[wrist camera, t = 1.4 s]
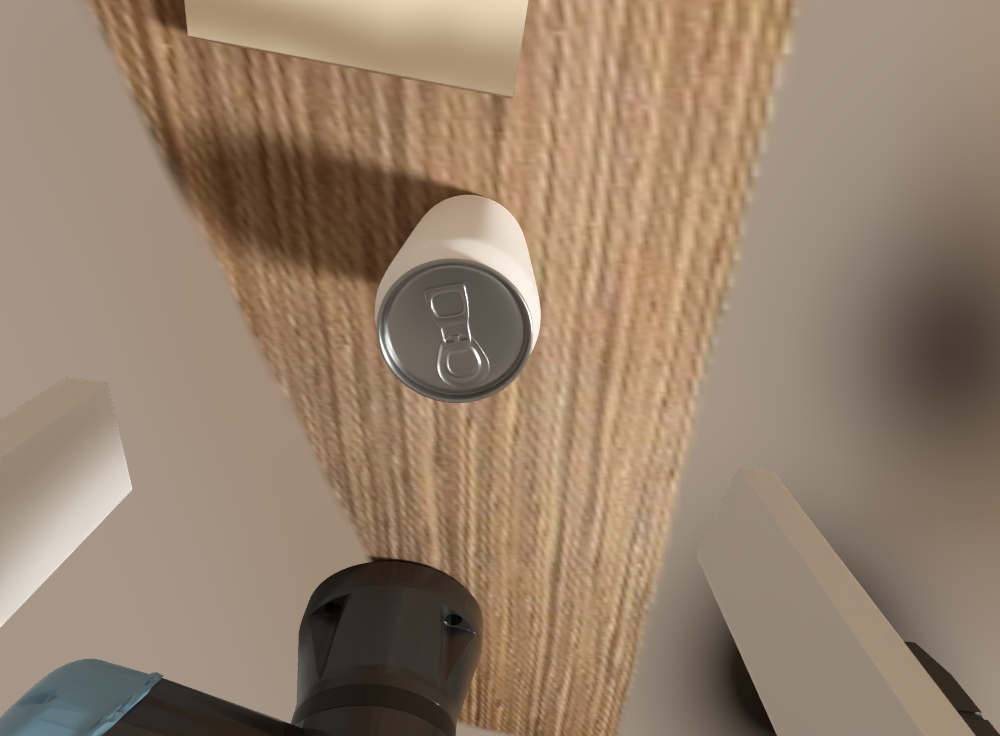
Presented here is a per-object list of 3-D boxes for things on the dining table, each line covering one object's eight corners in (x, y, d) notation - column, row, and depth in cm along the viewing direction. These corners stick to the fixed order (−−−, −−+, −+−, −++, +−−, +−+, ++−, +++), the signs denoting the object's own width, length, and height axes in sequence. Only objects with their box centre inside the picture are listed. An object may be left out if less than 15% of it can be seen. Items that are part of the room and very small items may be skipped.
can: (428, 313, 30) (392, 424, 19) (400, 204, 27) (338, 264, 16) (534, 295, 30) (556, 399, 19) (516, 182, 27) (531, 229, 16)
